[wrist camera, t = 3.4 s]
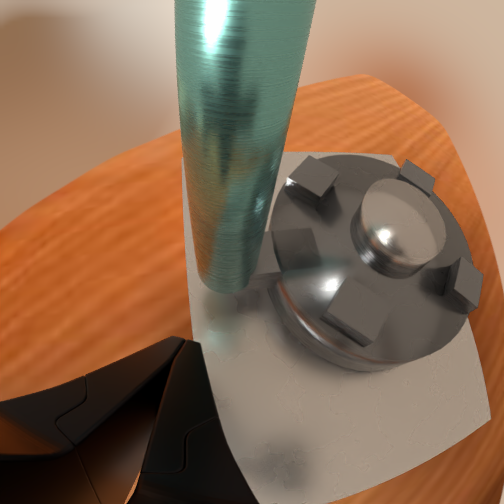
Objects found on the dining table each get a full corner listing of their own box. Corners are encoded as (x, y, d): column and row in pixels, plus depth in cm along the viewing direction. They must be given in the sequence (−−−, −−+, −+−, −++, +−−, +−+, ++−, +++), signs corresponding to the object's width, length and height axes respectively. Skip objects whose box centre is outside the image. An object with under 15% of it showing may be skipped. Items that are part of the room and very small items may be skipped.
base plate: (472, 421, 14) (491, 418, 12) (225, 511, 11) (225, 524, 9) (383, 170, 24) (392, 154, 22) (183, 177, 21) (181, 156, 20)
